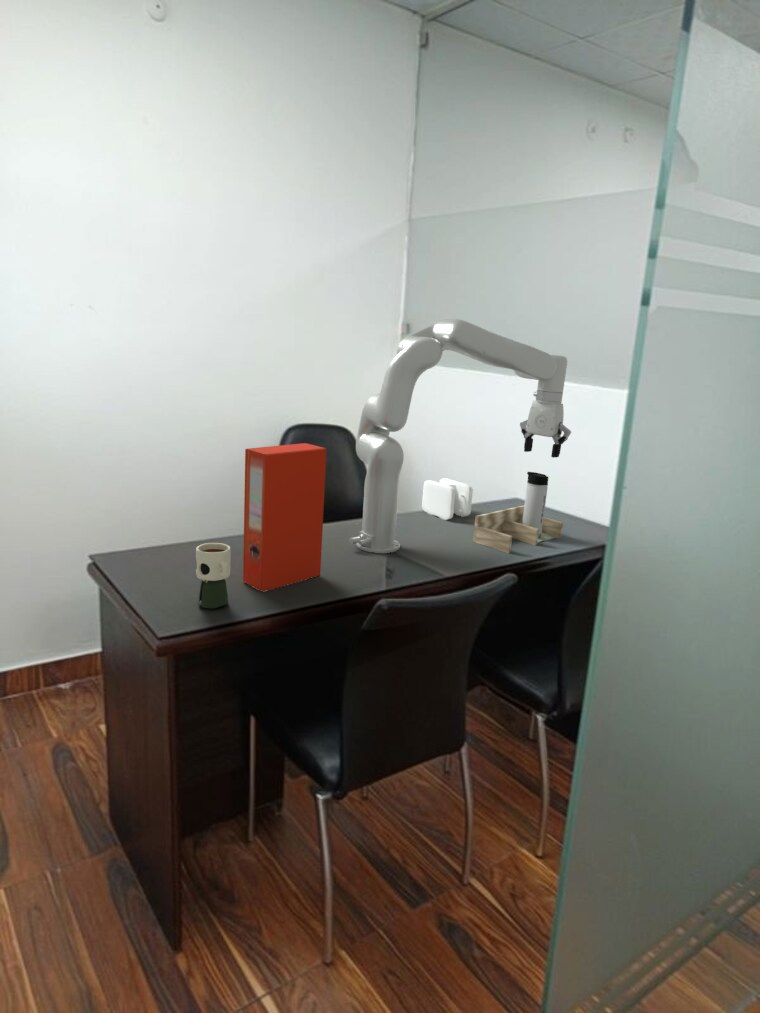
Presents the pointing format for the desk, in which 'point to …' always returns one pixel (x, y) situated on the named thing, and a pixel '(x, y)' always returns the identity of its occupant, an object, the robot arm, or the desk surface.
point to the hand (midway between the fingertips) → (541, 454)
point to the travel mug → (535, 500)
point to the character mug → (213, 573)
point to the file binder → (283, 514)
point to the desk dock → (511, 529)
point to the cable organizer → (447, 498)
